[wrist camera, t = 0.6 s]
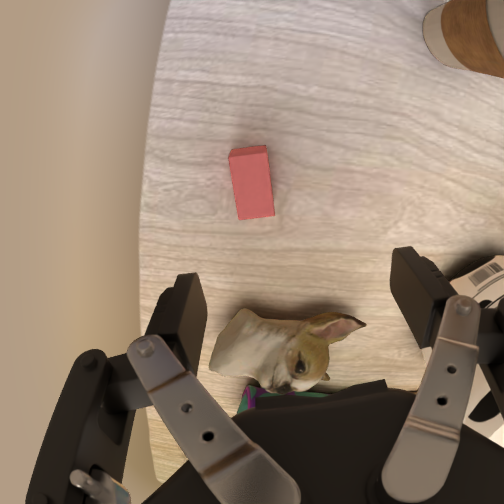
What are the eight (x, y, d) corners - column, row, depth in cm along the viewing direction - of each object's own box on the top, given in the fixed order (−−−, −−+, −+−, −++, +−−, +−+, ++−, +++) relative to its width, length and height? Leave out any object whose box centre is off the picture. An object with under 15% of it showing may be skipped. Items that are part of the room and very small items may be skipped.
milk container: (460, 362, 38) (505, 457, 22) (384, 338, 34) (431, 471, 19) (532, 273, 30) (604, 358, 14) (473, 218, 27) (585, 329, 11)
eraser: (231, 149, 24) (228, 157, 22) (265, 144, 24) (267, 151, 22) (240, 206, 27) (238, 220, 24) (273, 202, 27) (275, 216, 24)
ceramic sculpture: (220, 342, 22) (388, 362, 25) (223, 275, 30) (361, 301, 32) (198, 412, 28) (336, 422, 30) (203, 348, 35) (322, 365, 38)
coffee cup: (400, -10, 17) (514, -60, 4) (474, 5, 16) (590, -7, 3) (416, 78, 21) (549, 94, 8) (487, 85, 20) (610, 114, 7)
